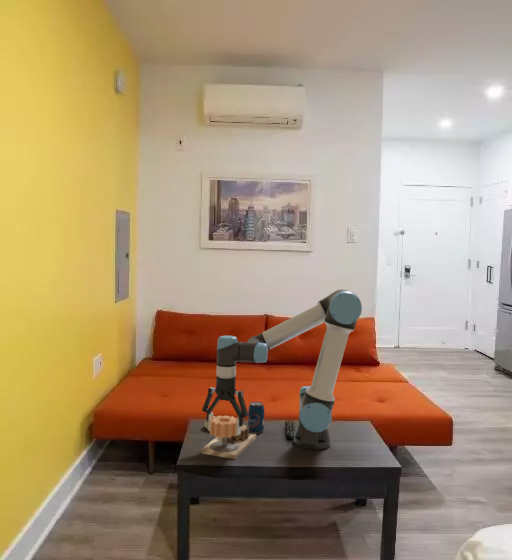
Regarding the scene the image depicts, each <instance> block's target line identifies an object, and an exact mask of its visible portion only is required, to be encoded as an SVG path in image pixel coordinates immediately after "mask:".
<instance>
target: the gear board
mask: <svg viewBox="0 0 512 560" xmlns="http://www.w3.org/2000/svg"><path fill="white" fill-rule="evenodd" d="M256 439H257V433H252V432H250V431H249V426H248V424H246V423H243V426H242V427H241V433H240V434H239V435H238V436H231V437H230V438H228V437H224V438H221V437H219V436H218V437H214V439H212V440H211V441H209V443H207V444H206V445H205V446H203V447H202V448H201V449H200V454H202V455H209V456H214V457H219V458H220V457H221V458H227V459H233V460H236V459H237V458H238V457H239V456H240V455H241V454H242V453H243V452H244V451H245V450H246V449H247V447H249V446H250V445H251V444H252V443H253V442H254V441H255V440H256Z"/></svg>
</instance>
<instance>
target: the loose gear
mask: <svg viewBox="0 0 512 560" xmlns="http://www.w3.org/2000/svg"><path fill="white" fill-rule="evenodd" d="M237 418H238V417H235V416H234V415H232V416H229V415H224V416H223V415H218V416H217V417H213V419H210V431H209V434H210V435H211V436H213V437H214V438H216V437H218V436H219V437H221V438H224V437H228V438H230V437H231V436H237V435H236V428H237Z"/></svg>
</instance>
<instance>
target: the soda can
mask: <svg viewBox="0 0 512 560" xmlns="http://www.w3.org/2000/svg"><path fill="white" fill-rule="evenodd" d="M247 411H248V416H247V426H249V433H251V434H259V433H263V431H264V428H265V406H264V403H263V402H260V401H251V402H250V403H249V405H248V408H247Z"/></svg>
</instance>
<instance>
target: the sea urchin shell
mask: <svg viewBox="0 0 512 560" xmlns="http://www.w3.org/2000/svg"><path fill="white" fill-rule="evenodd" d="M213 417H218V416H215V415H213ZM208 423H209V422H207V419H206V420H204V423H203V427H204V428H205V429H207V430H208Z"/></svg>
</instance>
